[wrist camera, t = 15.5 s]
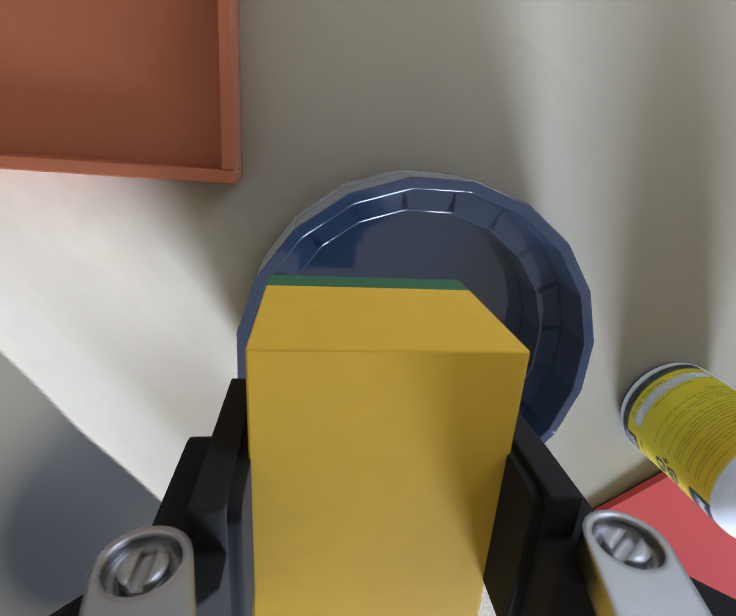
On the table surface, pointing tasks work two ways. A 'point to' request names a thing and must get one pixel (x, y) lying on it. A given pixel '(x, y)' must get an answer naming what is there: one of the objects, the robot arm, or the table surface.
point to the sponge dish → (121, 88)
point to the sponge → (376, 444)
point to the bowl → (451, 268)
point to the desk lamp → (683, 530)
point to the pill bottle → (688, 434)
